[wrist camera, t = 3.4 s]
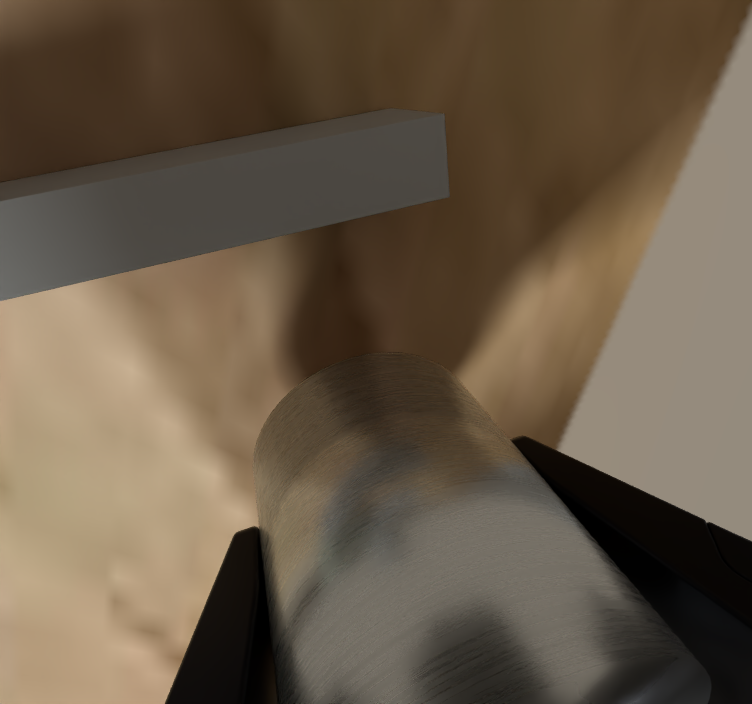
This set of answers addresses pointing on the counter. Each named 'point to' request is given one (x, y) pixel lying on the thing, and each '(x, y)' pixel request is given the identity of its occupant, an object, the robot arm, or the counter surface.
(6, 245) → the grey u-shaped bracket
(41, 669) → the counter surface
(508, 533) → the bottle
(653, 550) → the robot arm
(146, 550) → the counter surface
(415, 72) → the counter surface
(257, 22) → the counter surface
